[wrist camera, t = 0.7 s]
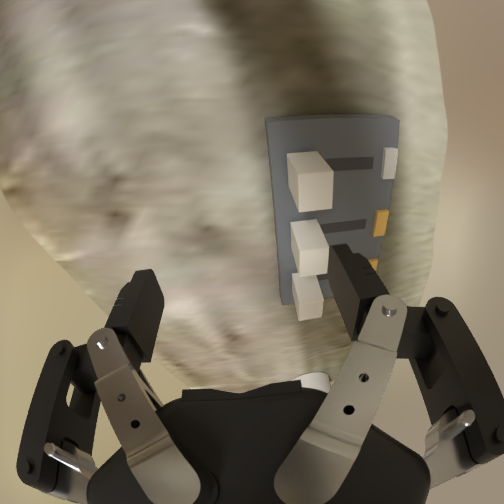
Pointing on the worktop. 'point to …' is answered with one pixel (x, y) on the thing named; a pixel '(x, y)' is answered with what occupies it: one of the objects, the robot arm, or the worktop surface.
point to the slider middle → (309, 248)
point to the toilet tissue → (315, 381)
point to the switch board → (335, 183)
